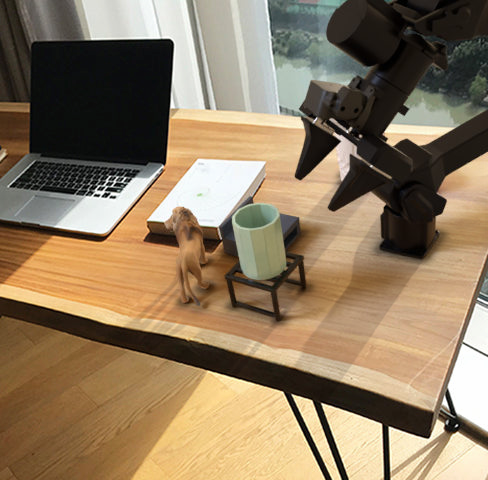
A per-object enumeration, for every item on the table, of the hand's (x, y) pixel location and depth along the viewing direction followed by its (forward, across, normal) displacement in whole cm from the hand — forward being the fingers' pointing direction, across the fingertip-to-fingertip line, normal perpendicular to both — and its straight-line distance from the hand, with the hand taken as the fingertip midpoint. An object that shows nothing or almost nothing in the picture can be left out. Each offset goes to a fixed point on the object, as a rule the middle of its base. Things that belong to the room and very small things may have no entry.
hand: (313, 193), depth 87 cm
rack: (+15, 0, +4) cm, 16 cm away
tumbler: (+11, 0, 0) cm, 11 cm away
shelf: (+12, -12, +7) cm, 19 cm away
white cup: (-3, -20, +22) cm, 30 cm away
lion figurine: (+21, -11, -2) cm, 24 cm away
